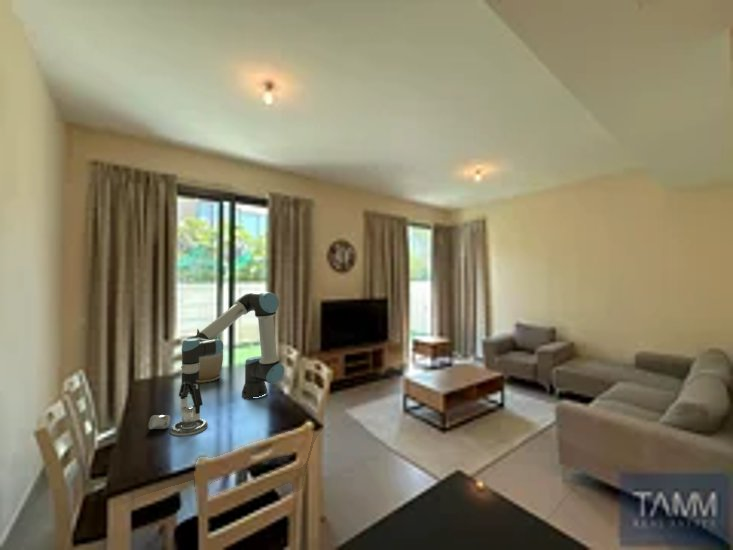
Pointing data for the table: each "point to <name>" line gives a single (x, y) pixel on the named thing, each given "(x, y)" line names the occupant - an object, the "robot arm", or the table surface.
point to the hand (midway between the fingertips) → (190, 415)
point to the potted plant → (210, 367)
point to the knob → (188, 418)
